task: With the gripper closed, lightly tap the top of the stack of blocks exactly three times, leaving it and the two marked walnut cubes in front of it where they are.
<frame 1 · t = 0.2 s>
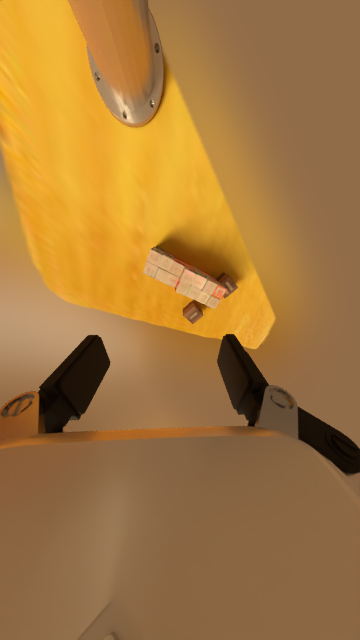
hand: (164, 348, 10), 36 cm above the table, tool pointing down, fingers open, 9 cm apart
walnut cube two: (222, 283, 44), on the table
walnut cube one: (191, 309, 49), on the table
stack of blocks: (182, 272, 42), on the table
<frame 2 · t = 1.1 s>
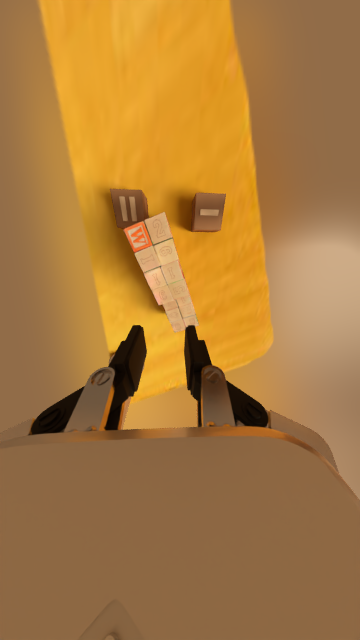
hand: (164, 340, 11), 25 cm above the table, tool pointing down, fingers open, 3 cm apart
walnut cube two: (136, 215, 26), on the table
walnut cube one: (203, 217, 27), on the table
stack of blocks: (171, 276, 33), on the table
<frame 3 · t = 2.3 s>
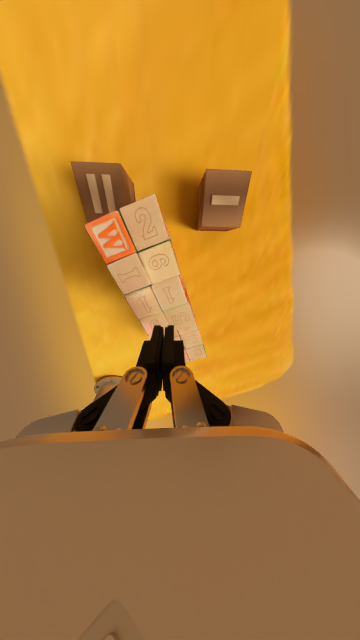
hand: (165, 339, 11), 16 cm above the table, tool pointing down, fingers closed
walnut cube two: (119, 206, 19), on the table
walnut cube one: (213, 210, 19), on the table
stack of blocks: (170, 290, 25), on the table
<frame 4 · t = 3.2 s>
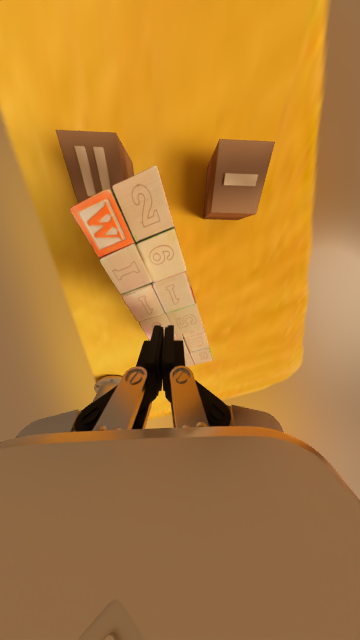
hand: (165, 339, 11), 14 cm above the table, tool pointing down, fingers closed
walnut cube two: (116, 191, 16), on the table
walnut cube one: (223, 195, 17), on the table
stack of blocks: (173, 287, 23), on the table
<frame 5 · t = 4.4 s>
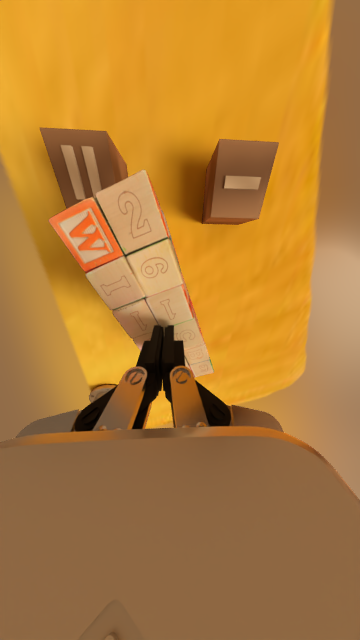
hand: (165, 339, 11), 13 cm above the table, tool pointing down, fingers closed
walnut cube two: (109, 194, 15), on the table
walnut cube one: (223, 199, 16), on the table
stack of blocks: (171, 294, 23), on the table
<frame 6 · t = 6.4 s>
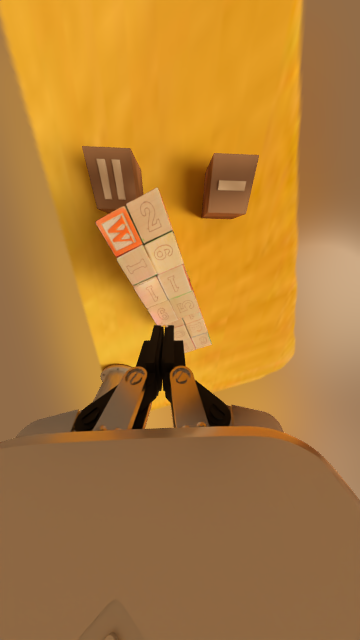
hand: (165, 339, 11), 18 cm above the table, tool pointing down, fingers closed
walnut cube two: (126, 194, 19), on the table
walnut cube one: (219, 198, 20), on the table
stack of blocks: (174, 282, 26), on the table
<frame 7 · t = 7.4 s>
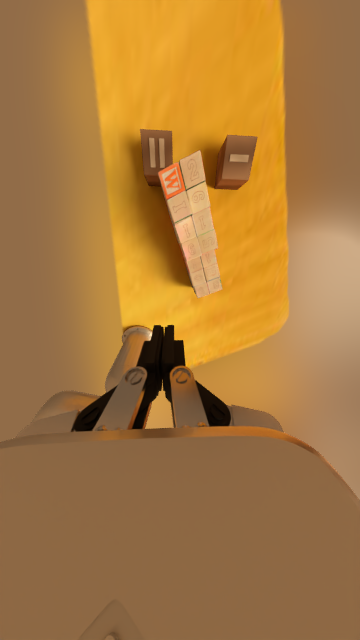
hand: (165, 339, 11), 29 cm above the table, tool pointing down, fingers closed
walnut cube two: (160, 169, 26), on the table
walnut cube one: (228, 172, 26), on the table
stack of blocks: (191, 245, 33), on the table
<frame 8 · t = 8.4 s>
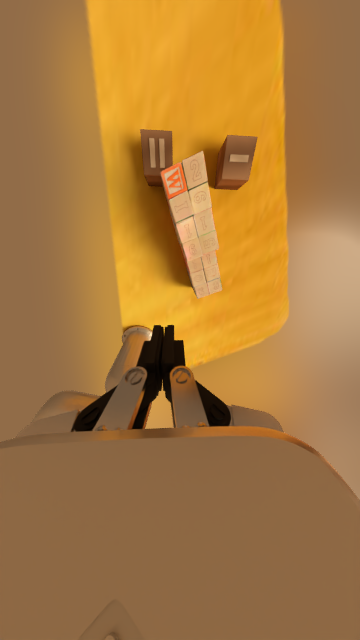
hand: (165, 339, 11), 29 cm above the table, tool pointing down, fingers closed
walnut cube two: (160, 169, 26), on the table
walnut cube one: (228, 172, 26), on the table
stack of blocks: (192, 245, 33), on the table
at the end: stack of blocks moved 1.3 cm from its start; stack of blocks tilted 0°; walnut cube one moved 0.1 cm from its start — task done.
